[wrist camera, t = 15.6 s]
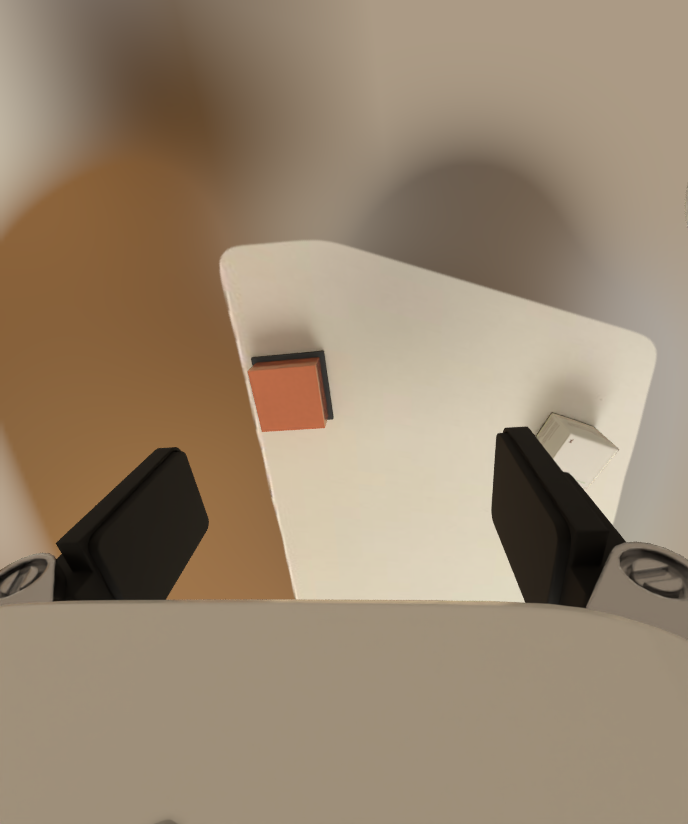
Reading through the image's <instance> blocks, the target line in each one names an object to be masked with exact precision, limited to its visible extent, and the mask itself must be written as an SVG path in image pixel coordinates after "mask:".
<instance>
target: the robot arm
mask: <svg viewBox="0 0 688 824" xmlns="http://www.w3.org/2000/svg"><path fill="white" fill-rule="evenodd" d="M492 519H493V523H494V525H495V528H496V530H497V533H498V535H499V538H500V540H501V543H502V545H503V548H504V550H505V553H506V555H507V558H508V560H509V563H510V565H511V568H512V570H513V573H514V575H515V578H516V580H517V583H518V585H519V588H520V590H521V593H522V595H523V598H524V600H525V603H519V602H497V601H443V600H166V598H167V596H168V595H169V593H170V591H171V590H172V588H173V586H174V585H175V583H176V581H177V580H178V578H179V576H180V575H181V573H182V571H183V570H184V568H185V566H186V565H187V563H188V561H189V559H190V558H191V556H192V555H193V553H194V551H195V549H196V548H197V546H198V544H199V543H200V541H201V539H202V538H203V536H204V534H205V533H206V531H207V529H208V524H209V521H208V516H207V513H206V511H205V508H204V505H203V502H202V499H201V496H200V493H199V491H198V487H197V485H196V482H195V479H194V476H193V473H192V471H191V468H190V465H189V462H188V459H187V456H186V454H185V453H184V452H182V451H181V450H180V449H179V448H177V447H172V448H158V449H156V450H155V451H154V452H153V453H152V454H151V455H149V456H148V457H147V458H146V459H145V460H144V461H143V462H142V463H141V464H140V465H139V466H138V467H137V468H136V469H135V470H134V471H132V472H131V473H130V474H129V475H128V476H127V477H126V478H125V479H124V480H123V481H122V482H121V483H120V484H119V485H118V486H116V487H115V488H114V489H113V490H112V491H111V492H110V493H109V494H108V495H107V496H106V497H105V498H104V499H103V500H102V501H100V502H99V503H98V504H97V505H96V506H95V507H94V508H93V509H92V510H91V511H90V512H89V513H88V514H87V515H85V516H84V517H83V518H82V519H81V520H80V521H79V522H78V523H77V524H76V525H75V526H74V527H73V528H72V529H70V530H69V531H68V532H67V533H66V534H65V535H64V536H63V537H62V538H61V539H60V540H59V541H58V542H57V543H56V544H57V546H58V548H59V550H60V551H61V553H62V554H61V555H60V556H59V557H58V558H57V559H55V557H54V556H53V555H51V554H50V553H39V554H33V555H30V556H27V557H24V558H21V559H19V560H17V561H15V562H13V563H11V564H9V565H8V566H6V567H5V568H3V569H1V570H0V824H688V560H687V559H686V558H684V557H683V556H681V555H680V554H677V553H675V552H673V551H670V550H669V549H666V548H664V547H660V546H657V545H653V544H650V543H642V542H626V541H625V540H624V539H623V538H622V536H621V535H620V534H619V533H618V531H617V530H616V529H615V528H614V527H613V525H612V524H611V523H610V522H609V520H608V519H607V518H606V517H605V515H604V514H603V513H602V512H601V510H600V509H599V508H598V507H597V506H596V504H595V503H594V502H593V501H592V499H591V498H590V497H589V496H588V494H587V493H586V492H585V491H584V490H583V488H582V487H581V486H580V485H579V483H578V482H577V481H576V480H575V478H574V477H573V476H572V475H571V474H570V473H568V472H563V471H562V470H561V468H560V467H559V466H558V465H557V463H556V462H555V461H554V459H553V458H552V457H551V456H550V454H549V453H548V452H547V451H546V449H545V448H544V447H543V445H542V444H541V443H540V442H539V440H538V439H537V438H536V437H535V435H534V434H533V433H532V431H531V430H530V429H529V428H528V427H512V428H505V429H504V431H503V433H498V434H497V436H496V449H495V464H494V479H493V494H492Z"/></svg>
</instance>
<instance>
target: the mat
mask: <svg viewBox="0 0 688 824" xmlns="http://www.w3.org/2000/svg"><path fill="white" fill-rule="evenodd" d="M315 357H319V358H320V364H321V371H322V378H323V385H324V391H325V398H326V405H327V411H328V419H327V420H330V419H333V412H332V405H331V398H330V391H329V384H328V377H327V370H326V363H325V356H324V351H316V352H305V353H294V354H283V355H272V356H261V357H252V358H251V361H252V365H254V364H255V363H259V362H270V361H282V360H293V359H304V358H315Z"/></svg>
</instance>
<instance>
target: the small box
mask: <svg viewBox="0 0 688 824" xmlns="http://www.w3.org/2000/svg"><path fill="white" fill-rule="evenodd" d="M536 438H537V439H538V440H539V442H540V443H541V444H542V445H543V447H544V448H545V449H546V451H547V452H548V453H549V454H550V456H551V457H552V458H553V459H554V461H555V462H556V463H557V465H558V466H559V467H560V468H561V470H562V471H563V472H568V473H570V474H571V475H572V476H573V477H574V478H575V480H576V481H577V482H578V483H579V485H580V486H581V487H583V488H585V489H587V488H588V487H589V486H590V485H591V484H592V483H593V481H594V480H595V479H596V478H597V476H598V475H599V474H600V472H601V471H602V470H603V469H604V467H605V466H606V465H607V464H608V463H609V461H610V460H611V459H612V458H613V457H614V455H615V454H616V453H617V452H618V451H619V449H618V448H617V447H616V446H615V445H614V444H613V443H612V442H611V441H609V440H608V439H607V438H606V437H605V436H604V435H603V434H602V433H600V432H599V431H598V430H597V429H596V428H595V427H592V426H589V425H587V424H584V423H581V422H578V421H575V420H572V419H569V418H566V417H563V416H561V415H557V414H554V413H552V414H551V415H550V416H549V418H548V419H547V421H546V422H545V424H544V425H543V427H542V428H541V430H540V431H539V433H538V434H537V436H536Z"/></svg>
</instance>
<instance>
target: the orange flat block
mask: <svg viewBox="0 0 688 824" xmlns="http://www.w3.org/2000/svg"><path fill="white" fill-rule="evenodd" d="M248 375H249V379H250V384H251V388H252V392H253V396H254V400H255V404H256V409H257V413H258V417H259V421H260V425H261V430H262V432H268V431H284V430H300V429H316V428H325V426H326V422H327V419H328V411H327V405H326V398H325V391H324V385H323V378H322V371H321V364H320V358H319V357H315V358H304V359H293V360H282V361H270V362H259V363H255V364H254V365H253V366H252V367H251V368H250V369H249V370H248Z"/></svg>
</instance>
